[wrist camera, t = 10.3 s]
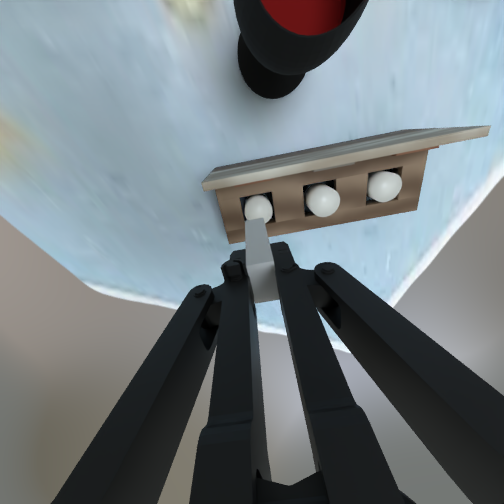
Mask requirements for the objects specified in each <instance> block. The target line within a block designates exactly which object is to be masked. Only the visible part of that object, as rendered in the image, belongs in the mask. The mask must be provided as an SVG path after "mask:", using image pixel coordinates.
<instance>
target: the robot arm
mask: <svg viewBox="0 0 504 504" xmlns="http://www.w3.org/2000/svg"><path fill="white" fill-rule="evenodd" d="M245 243H246V249H243V250H237V251H233V252H232V254H231V255H230V260H229V261H227V262H225V263H224V264H223V265H222V266H221V270H222V273H223V276H224V283H223V284H221V285H220V286H218V287H215V288H213V289H212V288H211V286H209V285H206V284H203V285H199V286H196V287H194V288H193V289H191V290H190V292H189V293H188V294H187V296H186V297H185V299H184V300H183V302H182V304H181V305H180V307H179V308H178V310H177V311H176V313H175V314H174V316H173V317H172V319H171V321H170V322H169V324H168V325H167V327H166V328H165V330H164V331H163V333H162V334H161V336H160V337H159V339H158V340H157V342H156V344H155V345H154V347H153V348H152V350H151V351H150V353H149V355H148V356H147V358H146V359H145V361H144V362H143V364H142V365H141V367H140V368H139V370H138V371H137V373H136V374H135V376H134V377H133V379H132V380H131V382H130V384H129V385H128V387H127V388H126V390H125V391H124V393H123V394H122V396H121V397H120V399H119V400H118V402H117V404H116V405H115V407H114V408H113V410H112V411H111V413H110V414H109V416H108V418H107V419H106V420H105V422H104V424H103V425H102V427H101V428H100V430H99V431H98V433H97V434H96V436H95V437H94V439H93V441H92V442H91V444H90V445H89V447H88V448H87V450H86V451H85V453H84V454H83V456H82V457H81V459H80V461H79V462H78V464H77V465H76V467H75V468H74V470H73V471H72V473H71V474H70V476H69V477H68V479H67V481H66V482H65V484H64V485H63V487H62V488H61V490H60V491H59V493H58V494H57V496H56V497H55V499H54V500H53V501H52V503H51V504H157V503H158V500H159V497H160V495H161V492H162V489H163V487H164V484H165V481H166V478H167V476H168V473H169V471H170V468H171V465H172V463H173V460H174V457H175V455H176V452H177V449H178V447H179V444H180V441H181V439H182V436H183V433H184V430H185V428H186V425H187V423H188V420H189V417H190V415H191V412H192V409H193V407H194V404H195V401H196V398H197V396H198V393H199V391H200V388H201V385H202V382H203V380H204V377H205V375H206V372H207V369H208V367H209V364H210V361H211V359H212V356H213V353H214V350H215V348H216V345H217V348H216V357H215V365H214V374H213V382H212V391H211V399H210V408H209V417H208V422H207V425H206V426H205V427H204V428H203V429H202V431H201V433H200V436H199V440H198V445H197V453H196V459H195V466H194V473H193V481H192V487H191V495H190V502H189V504H416V503H415V502H414V501H413V500H411V499H410V498H409V497H408V496H406V495H405V494H404V493H403V492H401V491H400V490H399V489H398V487H397V484H396V482H395V480H394V477H393V475H392V473H391V471H390V468H389V466H388V464H387V461H386V459H385V457H384V454H383V452H382V450H381V448H380V445H379V443H378V441H377V439H376V436H375V434H374V432H373V429H372V427H371V424H370V422H369V421H368V418H367V416H366V414H365V412H364V411H363V409H362V408H361V407H360V406H358V405H357V404H356V402H355V400H354V398H353V396H352V394H351V392H350V389H349V386H348V384H347V382H346V379H345V377H344V374H343V372H342V369H341V367H340V365H339V362H338V360H337V358H336V355H335V352H334V350H333V348H332V345H331V343H330V340H329V338H328V336H327V333H326V331H325V328H324V326H323V323H322V321H321V319H320V316H319V314H318V312H319V313H320V314H321V315H322V317H323V318H324V319H325V320H326V322H327V323H328V324H329V325H330V327H331V328H332V329H333V330H334V332H335V333H336V334H337V335H338V337H339V338H340V339H341V340H342V342H343V343H344V344H345V346H346V347H347V348H348V349H349V351H350V352H351V353H352V354H353V355H354V357H355V358H356V359H357V361H358V362H359V363H360V364H361V366H362V367H363V368H364V369H365V371H366V372H367V373H368V374H369V376H370V377H371V378H372V379H373V381H374V382H375V383H376V385H377V386H378V387H379V388H380V390H381V391H382V392H383V393H384V394H385V396H386V397H387V398H388V400H389V401H390V402H391V403H392V405H393V406H394V407H395V408H396V410H397V411H398V412H399V413H400V415H401V416H402V417H403V418H404V420H405V421H406V422H407V424H408V425H409V426H410V427H411V429H412V430H413V431H414V432H415V434H416V435H417V436H418V437H419V439H420V440H421V441H422V442H423V444H424V445H425V446H426V447H427V449H428V450H429V451H430V453H431V454H432V455H433V456H434V457H435V459H436V460H437V461H438V463H439V464H440V465H441V466H442V468H443V469H444V470H445V471H446V473H447V474H448V475H449V476H450V477H451V479H452V480H453V481H454V482H455V483H456V484H457V486H458V487H459V488H460V489H461V490H462V491H463V493H464V494H465V495H466V496H467V497H468V499H469V500H470V501H471V502H472V503H473V504H504V396H503V395H502V394H500V393H499V392H498V391H497V390H495V389H494V388H493V387H492V386H491V385H489V384H488V383H487V382H485V381H484V380H483V379H482V378H480V377H479V376H478V375H477V374H475V373H474V372H473V371H472V370H470V369H469V368H468V367H467V366H465V365H464V364H463V363H461V362H460V361H459V360H458V359H456V358H455V357H454V356H452V355H451V354H450V353H449V352H448V351H446V350H445V349H444V348H443V347H441V346H440V345H439V344H437V343H436V342H435V341H434V340H432V339H431V338H430V337H429V336H427V335H426V334H425V333H424V332H422V331H421V330H420V329H419V328H417V327H416V326H415V325H413V324H412V323H411V322H410V321H408V320H407V319H406V318H405V317H403V316H402V315H401V314H400V313H398V312H397V311H396V310H395V309H393V308H392V307H391V306H389V305H388V304H387V303H386V302H384V301H383V300H382V299H381V298H379V297H378V296H377V295H376V294H374V293H373V292H372V291H371V290H369V289H368V288H367V287H365V286H364V285H363V284H362V283H360V282H359V281H358V280H357V279H355V278H354V277H353V276H352V275H350V274H349V273H348V272H347V271H345V270H344V269H343V268H341V267H340V266H339V265H337V264H335V263H331V262H324V263H320V264H318V265H316V266H315V268H314V270H305V269H301V268H299V266H298V265H297V264H296V263H295V261H294V259H293V256H292V254H291V251H290V249H289V246H288V244H286V243H285V242H278V243H272V244H270V243H269V239H268V235H267V231H266V227H265V222H264V218H258V219H253V220H248V221H245ZM279 299H280V304H281V310H282V315H283V318H284V323H285V327H286V332H287V337H288V341H289V346H290V351H291V355H292V360H293V364H294V369H295V374H296V378H297V383H298V388H299V392H300V397H301V401H302V406H303V411H304V415H305V420H306V425H307V429H308V434H309V439H310V443H311V448H312V453H313V459H314V464H315V469H316V473H314V474H312V475H310V476H309V477H307V478H305V479H303V480H301V481H299V482H297V483H295V484H294V485H290V486H288V485H283V484H279V483H276V482H272V480H271V472H270V465H269V460H268V452H267V440H266V428H265V415H264V403H263V390H262V378H261V365H260V354H259V341H258V328H257V315H256V307H255V303H261V302H267V301H273V300H279ZM254 301H255V303H254ZM316 308H317V309H316ZM317 310H318V311H317Z"/></svg>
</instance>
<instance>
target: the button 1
mask: <svg viewBox="0 0 504 504" xmlns="http://www.w3.org/2000/svg"><path fill="white" fill-rule="evenodd" d="M272 212H273V211H272V206H271V204H270V202H269V199H268V198H267V196H266V195H264V194H263V193H261V194H256V195H251V196H248V197H247V199H246V201H245V216H246V219H247V220H253V219H258V218H264V222H265V223H267V222H268V221H269V220H270V219H271V217H272Z"/></svg>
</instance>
